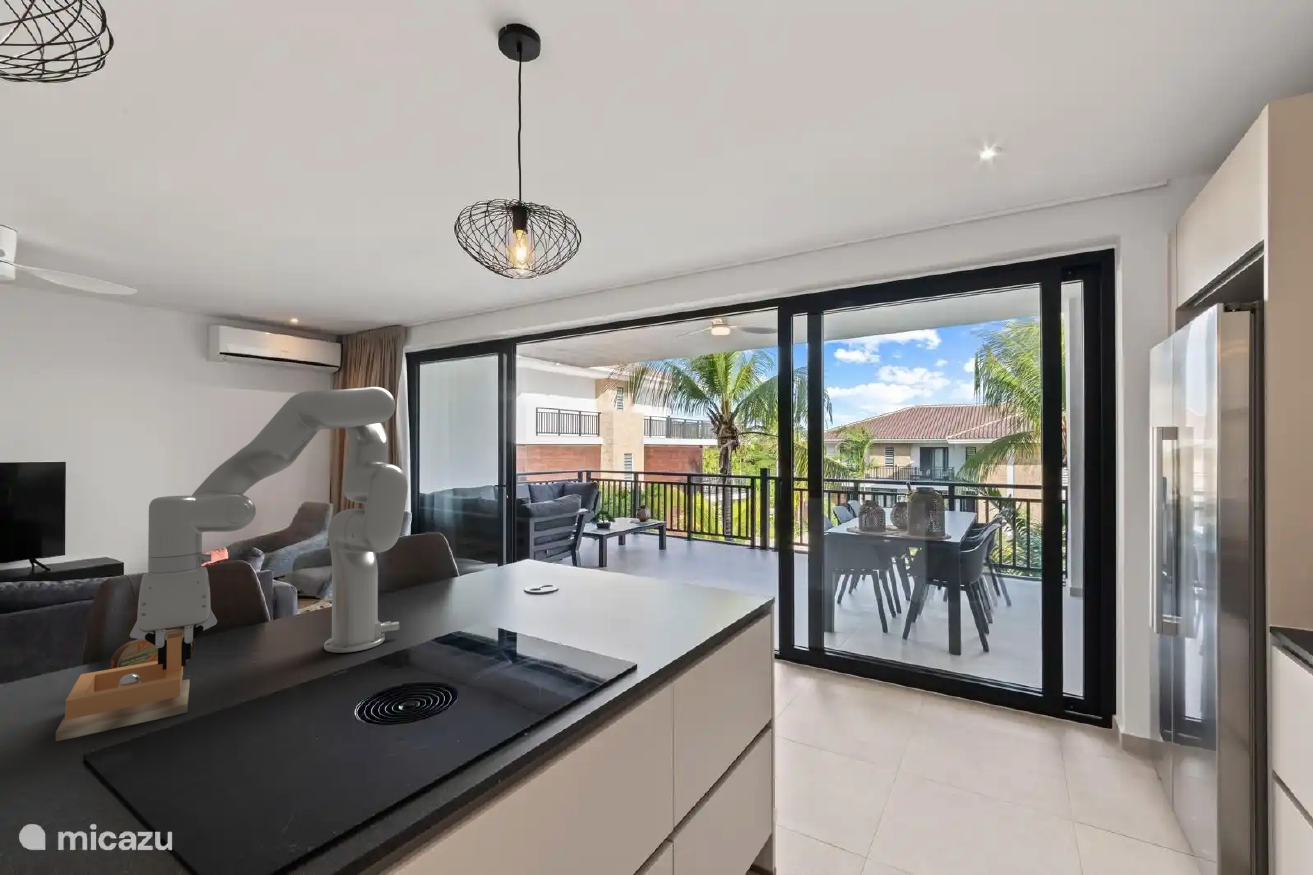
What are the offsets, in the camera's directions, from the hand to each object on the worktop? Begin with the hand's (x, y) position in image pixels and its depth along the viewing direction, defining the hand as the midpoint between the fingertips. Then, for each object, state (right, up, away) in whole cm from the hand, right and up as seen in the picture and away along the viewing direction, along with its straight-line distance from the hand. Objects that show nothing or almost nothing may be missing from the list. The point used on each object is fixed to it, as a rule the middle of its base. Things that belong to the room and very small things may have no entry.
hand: (174, 665), depth 105 cm
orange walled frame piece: (-5, -4, -4) cm, 7 cm away
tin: (-15, -7, +12) cm, 21 cm away
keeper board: (-5, -7, -4) cm, 9 cm away
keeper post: (-5, -5, -4) cm, 8 cm away
